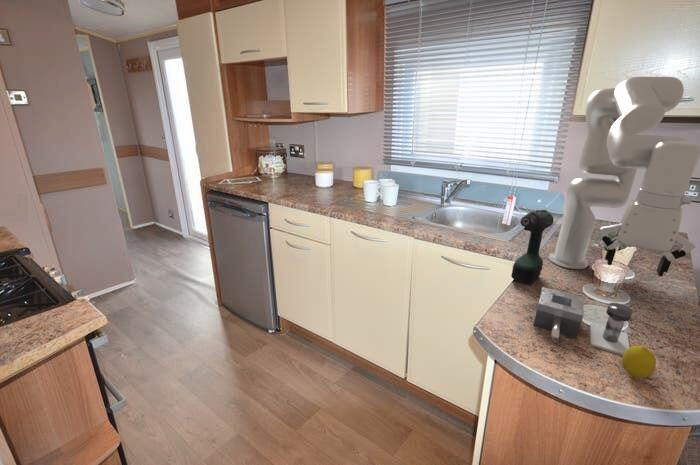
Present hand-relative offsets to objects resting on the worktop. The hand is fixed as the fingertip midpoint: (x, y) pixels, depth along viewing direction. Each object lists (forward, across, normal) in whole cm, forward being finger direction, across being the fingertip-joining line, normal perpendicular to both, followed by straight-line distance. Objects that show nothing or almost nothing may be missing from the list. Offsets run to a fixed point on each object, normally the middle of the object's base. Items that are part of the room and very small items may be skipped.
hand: (633, 268), depth 84 cm
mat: (+20, 0, +3) cm, 20 cm away
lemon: (+19, -4, +15) cm, 25 cm away
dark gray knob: (+19, 0, +3) cm, 19 cm away
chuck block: (+20, +12, +6) cm, 24 cm away
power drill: (+20, +23, -19) cm, 36 cm away
